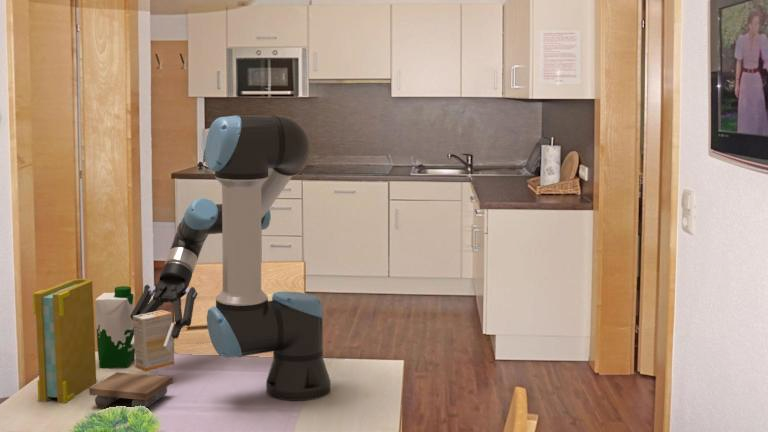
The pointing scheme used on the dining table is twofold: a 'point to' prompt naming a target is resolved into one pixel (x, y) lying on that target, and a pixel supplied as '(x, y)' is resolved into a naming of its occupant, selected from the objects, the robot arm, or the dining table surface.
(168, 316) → the supplement box
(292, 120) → the robot arm
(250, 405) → the dining table surface
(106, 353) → the milk carton
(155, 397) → the slab
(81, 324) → the book
